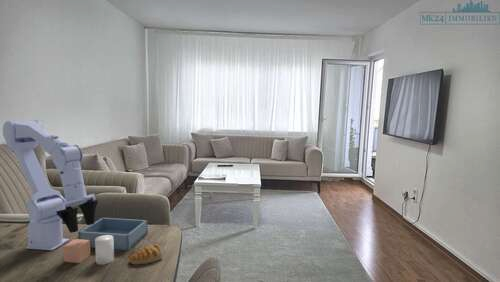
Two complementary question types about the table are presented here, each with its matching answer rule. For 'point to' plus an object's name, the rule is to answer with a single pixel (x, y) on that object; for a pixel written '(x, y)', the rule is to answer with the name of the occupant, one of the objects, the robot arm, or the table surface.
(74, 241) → the cube
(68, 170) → the robot arm
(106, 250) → the white egg shape
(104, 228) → the tote
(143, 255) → the pastry
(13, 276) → the table surface
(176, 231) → the table surface
